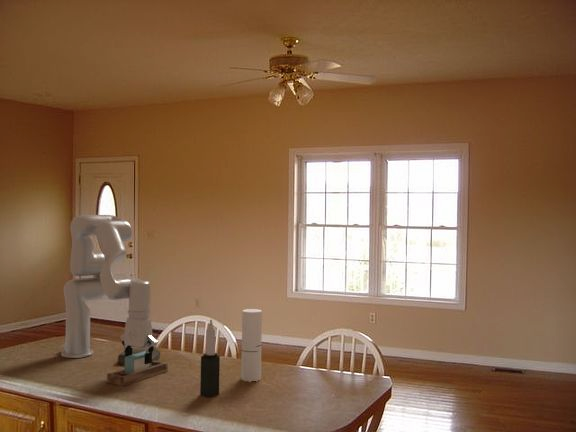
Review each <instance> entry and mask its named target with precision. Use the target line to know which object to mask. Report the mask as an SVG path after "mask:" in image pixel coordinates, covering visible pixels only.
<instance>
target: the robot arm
mask: <svg viewBox="0 0 576 432" xmlns="http://www.w3.org/2000/svg"><path fill="white" fill-rule="evenodd" d="M69 229H70V235H71V237H70V238H71V250H70V261H69V271H70V273H71V275H73V276H75V277H81V278H73V279H70V280H68V281H66V283H65V284H64V286H63V296H64V302H65V303H64V304H65V342H63V343H62V344H61V345H60V347H61V348H63V351H61V354H60V356H61V357H62V358H67V359H80V358H86V357H90V356H92V355H93V354H94V350H93V348H90V347H91V346H90V345H91V340H90V339H91V311H90V308H89V306H88V305H87V304H86V302H89V301H96V300H101V299H103V298H104V297H105V296H106V297H107V298H108V299H109V300H112V301H116V300H117V301H118V300H123V299H124V300H125V299H128V310H127V314H128V317H127V318H126V321H125V324H124V326H125V327H124V333H123V334H121V335H120V340H121V344H122V345H123V349H124V351H125V357H127V356H130V355H132V349H133V348H134V347H135V348H137V349H144V350H145V351H146V353H145V358H144V364H149V363H152V352H153V351H154V350H156V347H157V345H158V340H157V339H156V338H154V337H153V327H152V320H151V314H150V313H151V282H150V281H148V280H143V279H140V278H138V277H123V278H114V275H113V273H112V272H113V271H112V267H113V266H115V265H116V264H118V263H121V261H122V260H124V259H125V258H126V256H127V254H128V252H127V250H126V247H125V244H124V242H128V241H130V240H131V239H132V236H133V228H132V226H131V224H130V223H129V221H127V220H125V219H123V218H121V217H119V216H115V215H112V214H80V215H77V216H74V217H73V219H72V220H71V223H70V227H69ZM92 236H96V240H97V243H98V244H99V247H100V250H101V252H100V251H99V252H98V251H97V252H94V246H95V244H94V240H93V238H92ZM89 276H92V277H89Z"/></svg>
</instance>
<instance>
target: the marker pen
mask: <svg viewBox="0 0 576 432" xmlns="http://www.w3.org/2000/svg"><path fill="white" fill-rule="evenodd" d="M213 324H214V323H213V319H209V324H208V327H207V328H206V336H205V337H206V339H205V343H206V344H205V353H203V355H201V356H200V386H199V387H200V392H199V393H200V394H199V395H200V396H201V397H205V398H214V397H215V396H218V395H220V365H221V364H220V362H221V361H220V360H221V359H220V355H218V353H216V328H215V327H214V325H213Z"/></svg>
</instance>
